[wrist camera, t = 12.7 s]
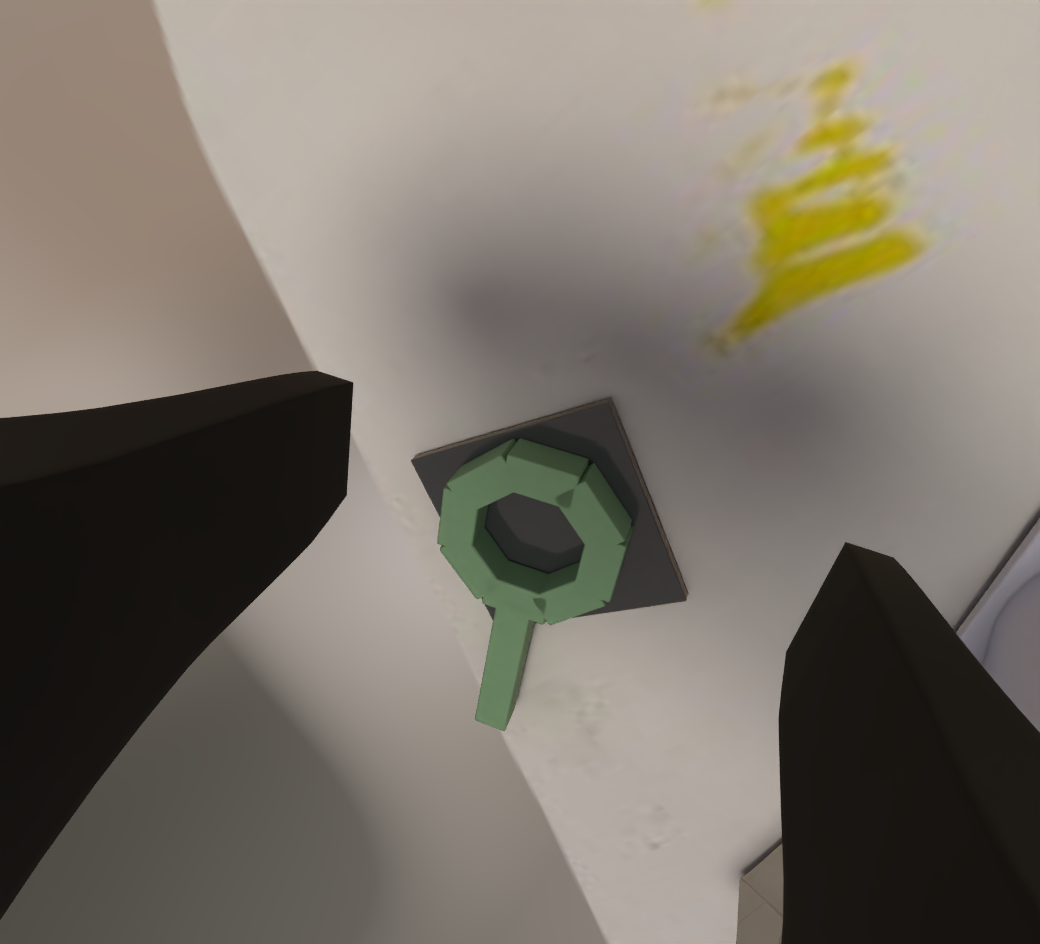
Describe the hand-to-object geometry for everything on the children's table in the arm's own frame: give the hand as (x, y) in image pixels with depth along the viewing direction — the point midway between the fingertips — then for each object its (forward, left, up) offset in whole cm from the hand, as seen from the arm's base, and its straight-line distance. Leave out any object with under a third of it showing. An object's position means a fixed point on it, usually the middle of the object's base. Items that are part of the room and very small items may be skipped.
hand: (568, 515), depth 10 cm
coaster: (-8, +2, -10) cm, 13 cm away
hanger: (-10, +2, -10) cm, 14 cm away
